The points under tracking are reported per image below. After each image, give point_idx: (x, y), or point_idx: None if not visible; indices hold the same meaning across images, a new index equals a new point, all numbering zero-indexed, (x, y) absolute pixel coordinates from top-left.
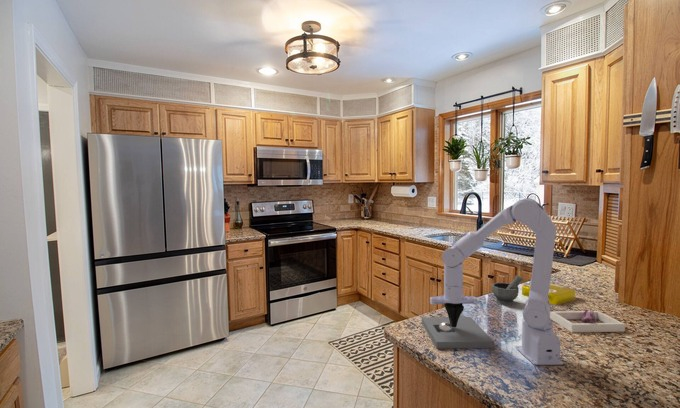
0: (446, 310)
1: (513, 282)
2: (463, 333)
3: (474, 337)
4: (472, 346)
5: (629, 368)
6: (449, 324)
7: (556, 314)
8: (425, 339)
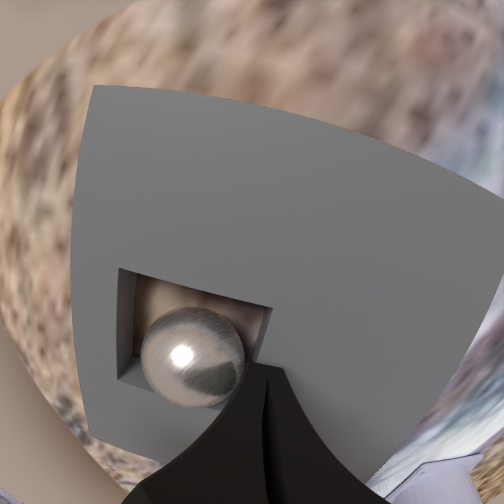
0: (192, 446)
1: None
2: None
3: None
4: None
5: (496, 486)
6: (213, 400)
7: None
8: (69, 336)
